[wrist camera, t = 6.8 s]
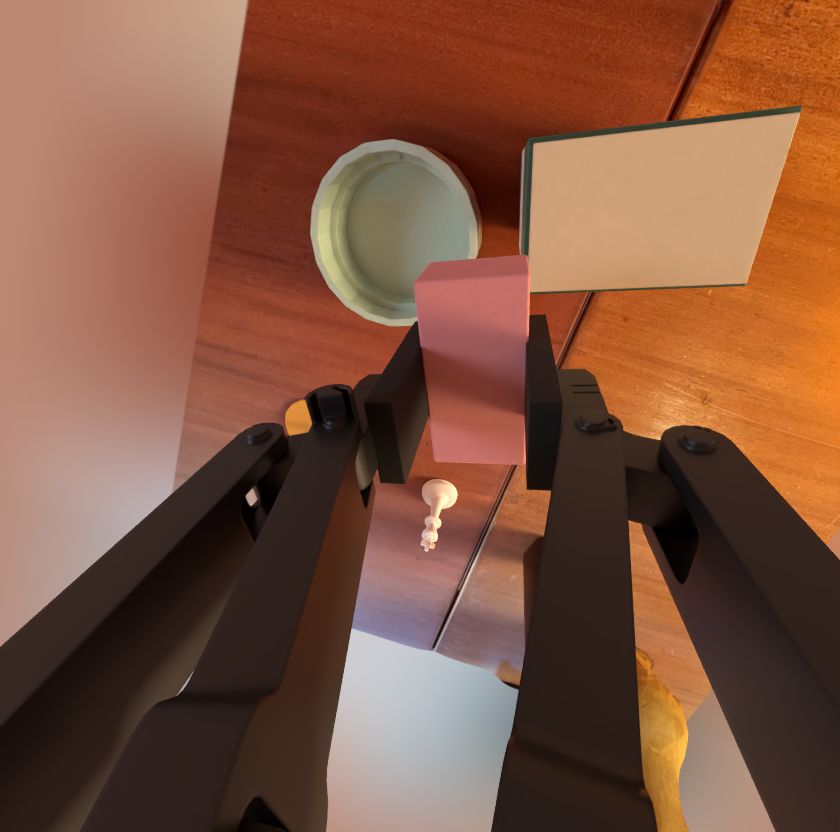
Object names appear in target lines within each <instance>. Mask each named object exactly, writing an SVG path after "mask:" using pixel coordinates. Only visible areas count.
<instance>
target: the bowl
mask: <svg viewBox="0 0 840 832" xmlns="http://www.w3.org/2000/svg"><path fill="white" fill-rule="evenodd" d="M310 235H311V240H312V245H313V250H314V254H315V259H316V262H317V265H318V267H319V269H320V271H321V273H322V275H323V277H324V279H325V281H326V283H327V285H328V286H329V288H330V289H331V290H332V291H333V293H334V294H335V295H336V296H337V297H338V298H339V299H340V300H341V301H342V303H343V304H344V305H345V306H346V307H348V308H349V309H351V310H352V311H354V312H356V313H357V314H359V315H360V316H362V317H363V318H365V319H367V320H370V321H374V322H377V323H381V324H384V325H388V326H413V324H414V322H415V321H418V319H417V311H416V303H415V294H414V286H413V283H414V281H415V280H416V279H417V278H418V277H419V275H420V274H421V273H422V272H423V271H424V270H425V268H426V267H427V266H428V265H429V264H430V263H431V262H441V261H453V260H466V259H477V257H478V254H479V250H480V247H481V243H482V215H481V212H480V208H479V205H478V202H477V199H476V196H475V192H474V189H473V187H472V186H471V184H470V183H469V182H468V180H467V179H466V177H465V176H464V174H463V173H462V172H461V170H460V169H459V167H458V166H457V165H456V164H455V163H453V162H452V161H451V160H449V159H448V158H446V157H445V156H444V155H442V154H441V153H439V152H438V151H437V150H435V149H432V148H429V147H425V146H421V145H417V144H414V143H410V142H405V141H401V140H397V139H389V140H381V141H373V142H366V143H363V144H362V145H360V146H358V147H356V148H355V149H353V150H351V151H349V152H348V153H346V154H344V155H342V156H341V157H340V158H339V159H338V160H337V161H336V163H335V164H334V165H333V166H332V167H331V169H330V170H329V171H328V172H327V174H326V175H325V176H324V177H323V178H322V181H321V183H320V186H319V189H318V191H317V194H316V197H315V200H314V202H313V205H312V214H311V230H310Z"/></svg>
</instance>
